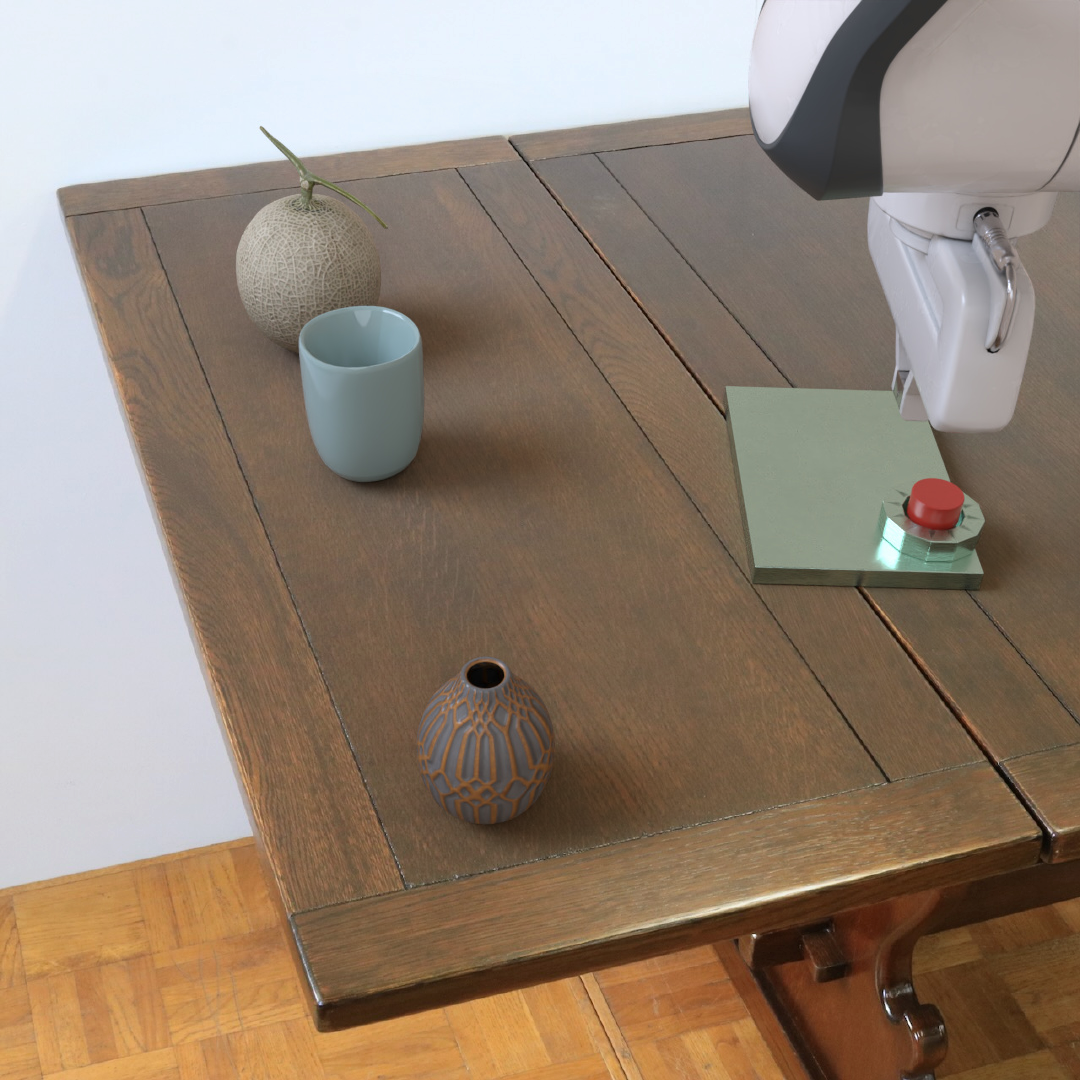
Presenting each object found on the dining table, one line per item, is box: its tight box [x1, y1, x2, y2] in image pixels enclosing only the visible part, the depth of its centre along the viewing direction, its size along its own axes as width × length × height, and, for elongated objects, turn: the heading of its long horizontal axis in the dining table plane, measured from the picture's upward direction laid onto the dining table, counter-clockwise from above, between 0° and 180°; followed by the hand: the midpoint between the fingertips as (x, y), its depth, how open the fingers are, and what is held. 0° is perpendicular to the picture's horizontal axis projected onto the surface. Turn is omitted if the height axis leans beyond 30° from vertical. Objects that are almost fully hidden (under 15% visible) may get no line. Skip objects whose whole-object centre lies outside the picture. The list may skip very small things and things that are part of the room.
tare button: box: [907, 478, 965, 530], centre depth 82 cm, size 3×3×2 cm
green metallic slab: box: [722, 385, 986, 591], centre depth 88 cm, size 20×14×3 cm
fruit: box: [235, 125, 389, 354], centre depth 97 cm, size 10×12×15 cm
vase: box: [416, 656, 556, 825], centre depth 66 cm, size 7×7×9 cm
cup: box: [298, 305, 426, 483], centre depth 87 cm, size 8×8×10 cm
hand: (910, 406), depth 73 cm, fingers closed
